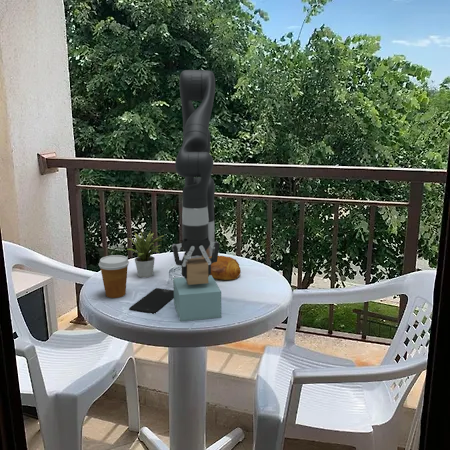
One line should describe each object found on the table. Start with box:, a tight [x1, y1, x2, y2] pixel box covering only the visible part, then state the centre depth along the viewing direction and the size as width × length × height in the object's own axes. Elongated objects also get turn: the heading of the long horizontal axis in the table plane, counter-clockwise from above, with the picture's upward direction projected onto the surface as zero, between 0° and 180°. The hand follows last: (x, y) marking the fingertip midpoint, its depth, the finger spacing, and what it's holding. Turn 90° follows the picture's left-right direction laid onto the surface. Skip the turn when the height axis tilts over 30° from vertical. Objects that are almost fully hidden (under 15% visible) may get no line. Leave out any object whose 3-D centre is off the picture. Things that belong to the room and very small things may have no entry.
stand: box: [172, 275, 222, 322], centre depth 152 cm, size 14×12×8 cm
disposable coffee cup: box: [98, 254, 130, 299], centre depth 163 cm, size 10×10×12 cm
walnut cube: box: [186, 257, 208, 285], centre depth 150 cm, size 6×6×6 cm
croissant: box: [209, 255, 242, 281], centre depth 182 cm, size 14×16×8 cm
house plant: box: [126, 231, 165, 279], centre depth 179 cm, size 14×14×16 cm
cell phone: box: [128, 287, 174, 315], centre depth 159 cm, size 9×18×1 cm, turn 160°
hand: (196, 276), depth 150 cm, fingers closed on walnut cube, 6 cm apart
